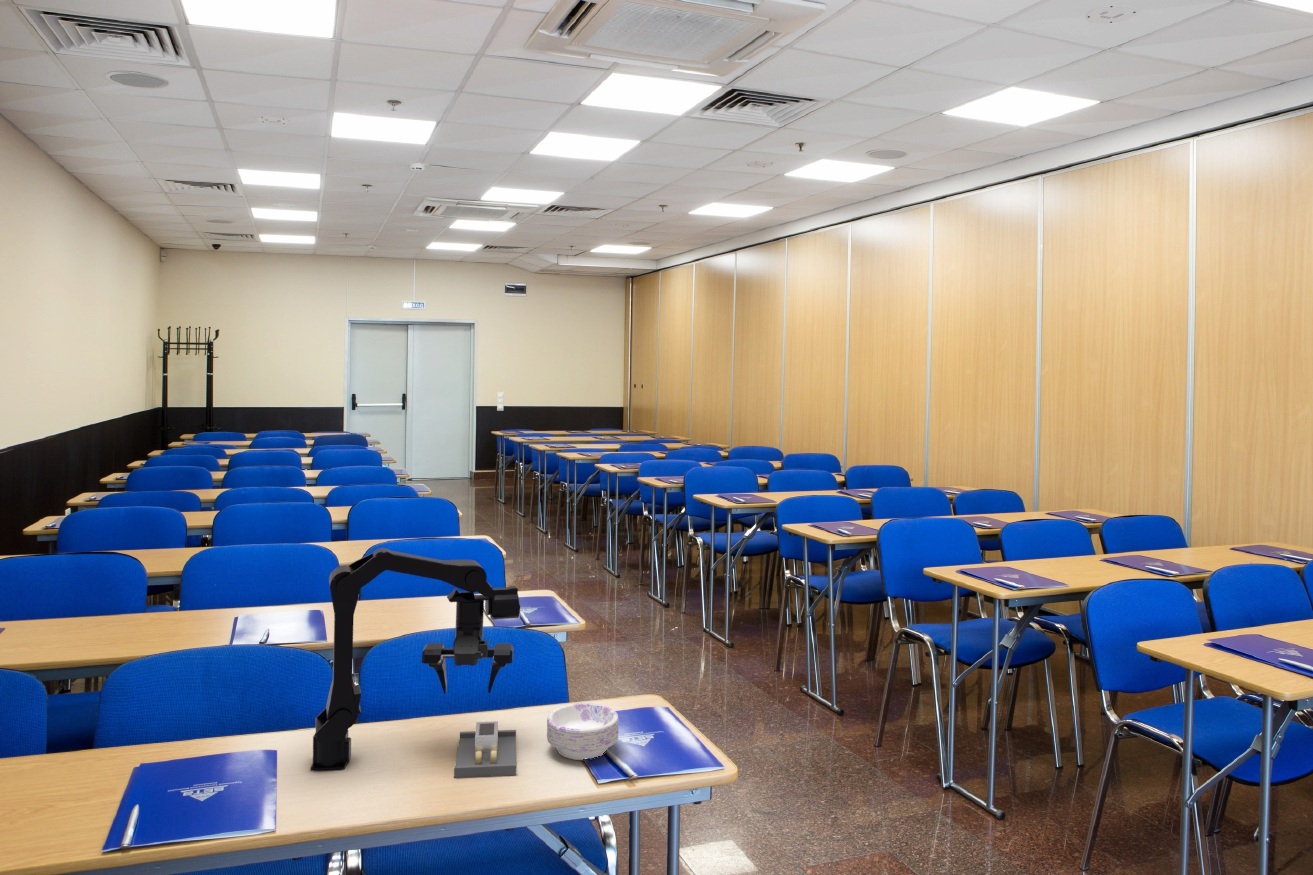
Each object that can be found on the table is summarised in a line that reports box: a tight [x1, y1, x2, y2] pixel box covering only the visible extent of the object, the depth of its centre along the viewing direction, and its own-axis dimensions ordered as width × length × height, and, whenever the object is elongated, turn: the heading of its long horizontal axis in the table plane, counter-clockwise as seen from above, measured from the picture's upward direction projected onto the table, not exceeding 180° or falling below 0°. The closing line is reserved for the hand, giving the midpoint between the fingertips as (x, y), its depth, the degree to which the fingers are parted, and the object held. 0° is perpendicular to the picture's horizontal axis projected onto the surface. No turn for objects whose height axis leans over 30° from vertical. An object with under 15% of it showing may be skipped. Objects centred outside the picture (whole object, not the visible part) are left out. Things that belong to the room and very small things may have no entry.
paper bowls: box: [546, 702, 620, 761], centre depth 183 cm, size 15×15×8 cm
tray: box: [453, 729, 517, 779], centre depth 179 cm, size 12×18×4 cm, turn 9°
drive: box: [475, 720, 499, 761], centre depth 179 cm, size 4×8×5 cm, turn 10°
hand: (467, 692), depth 184 cm, fingers open, 9 cm apart
